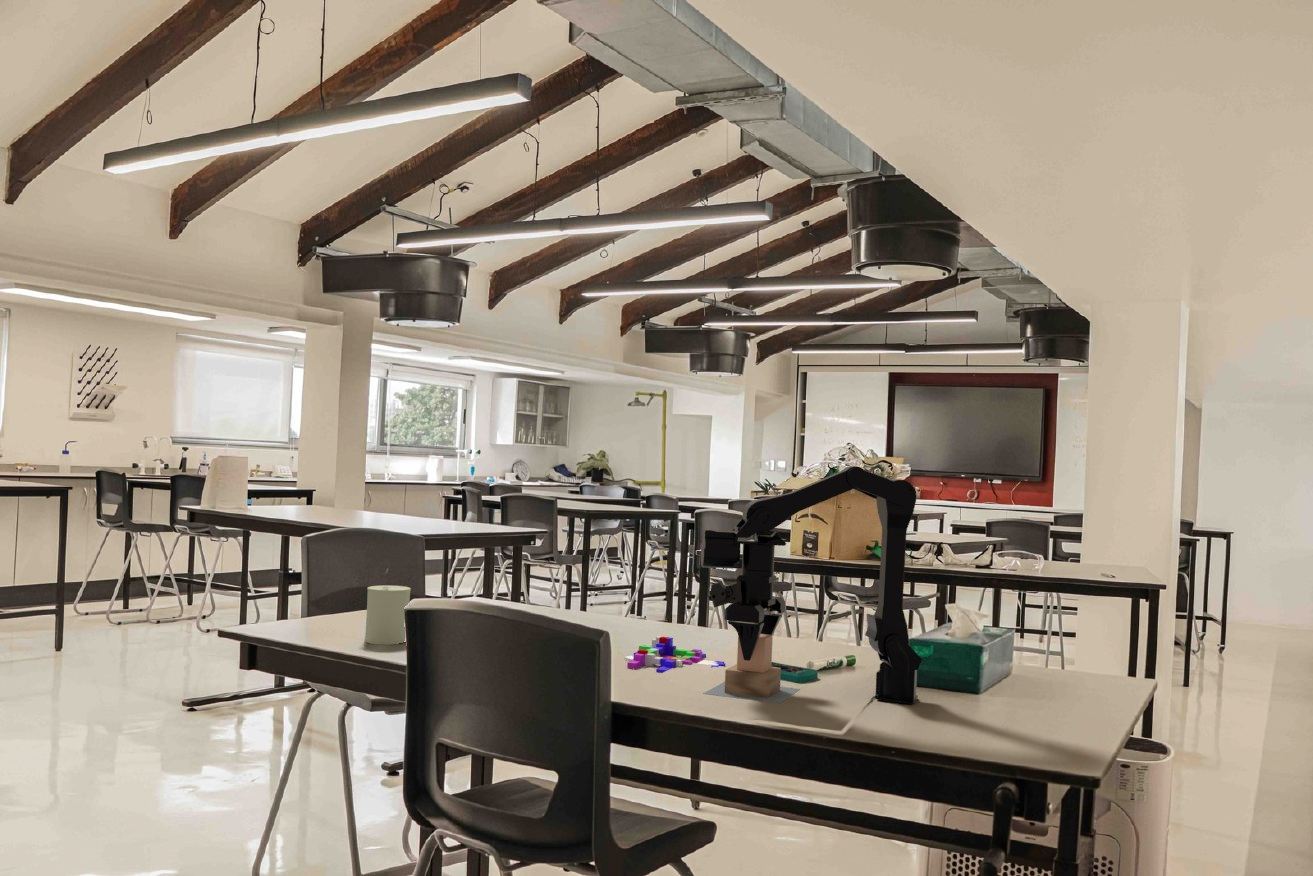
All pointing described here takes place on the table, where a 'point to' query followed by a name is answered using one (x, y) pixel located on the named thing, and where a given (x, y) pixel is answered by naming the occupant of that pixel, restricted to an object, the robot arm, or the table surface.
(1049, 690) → the table surface
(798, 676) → the digital multimeter
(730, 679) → the walnut base block
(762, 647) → the terracotta cube
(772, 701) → the grey flat square plate
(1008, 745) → the table surface
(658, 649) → the building block set
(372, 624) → the can
